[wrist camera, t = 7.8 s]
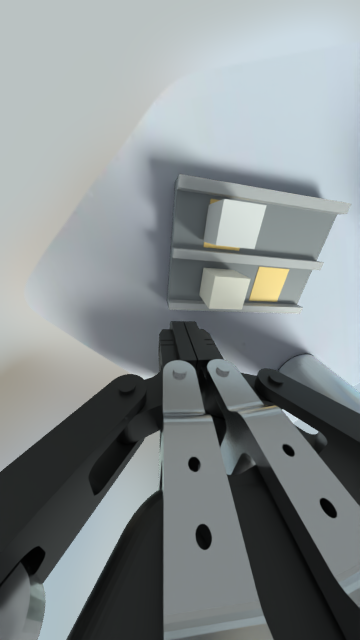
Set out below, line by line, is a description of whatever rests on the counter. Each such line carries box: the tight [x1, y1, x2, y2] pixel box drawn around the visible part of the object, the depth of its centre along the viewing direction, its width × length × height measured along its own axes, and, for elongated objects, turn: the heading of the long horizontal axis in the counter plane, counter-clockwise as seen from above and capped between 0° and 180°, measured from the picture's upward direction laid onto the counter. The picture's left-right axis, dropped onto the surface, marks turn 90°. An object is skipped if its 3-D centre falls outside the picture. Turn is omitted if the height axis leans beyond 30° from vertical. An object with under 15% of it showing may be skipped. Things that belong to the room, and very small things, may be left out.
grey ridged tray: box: [167, 174, 351, 314], centre depth 22 cm, size 20×14×3 cm
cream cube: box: [199, 268, 251, 310], centre depth 21 cm, size 4×4×4 cm
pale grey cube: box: [203, 199, 267, 249], centre depth 18 cm, size 4×4×4 cm
